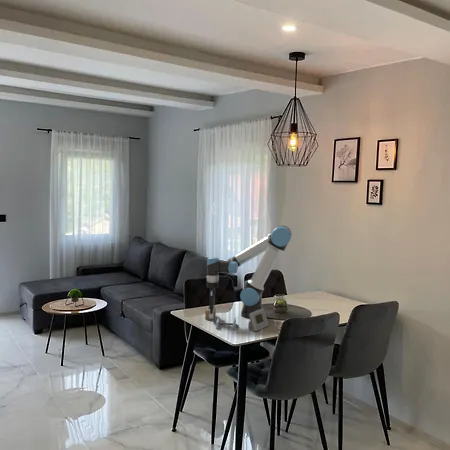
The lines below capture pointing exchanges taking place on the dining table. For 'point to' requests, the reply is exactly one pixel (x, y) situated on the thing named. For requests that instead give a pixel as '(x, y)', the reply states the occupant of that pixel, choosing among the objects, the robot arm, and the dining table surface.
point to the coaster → (212, 319)
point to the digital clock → (257, 320)
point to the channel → (226, 323)
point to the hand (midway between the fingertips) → (211, 316)
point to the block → (208, 313)
